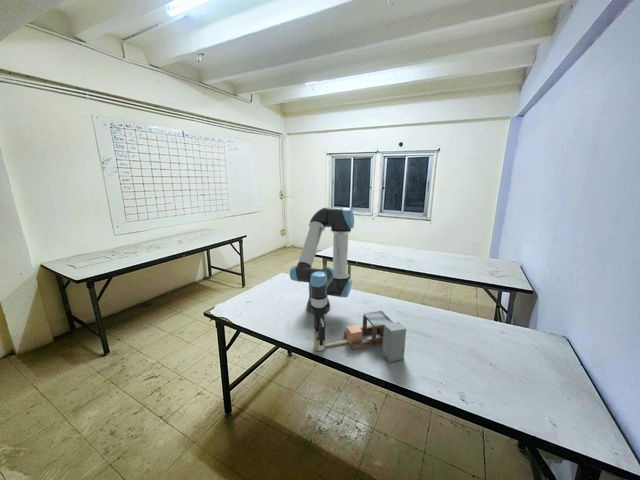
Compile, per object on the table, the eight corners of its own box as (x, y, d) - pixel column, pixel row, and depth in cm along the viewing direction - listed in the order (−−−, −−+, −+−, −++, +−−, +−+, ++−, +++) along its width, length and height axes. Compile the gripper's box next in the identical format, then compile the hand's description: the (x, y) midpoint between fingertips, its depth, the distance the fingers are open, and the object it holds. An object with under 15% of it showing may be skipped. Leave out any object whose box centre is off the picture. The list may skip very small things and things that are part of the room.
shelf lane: (343, 335, 134) (344, 316, 131) (380, 328, 140) (381, 310, 137) (352, 350, 123) (353, 330, 120) (392, 342, 128) (393, 322, 125)
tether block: (313, 344, 127) (313, 330, 125) (357, 336, 133) (357, 322, 131) (316, 352, 121) (316, 338, 119) (361, 343, 127) (362, 329, 125)
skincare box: (388, 362, 114) (390, 332, 110) (380, 352, 121) (382, 323, 117) (405, 359, 116) (407, 329, 112) (396, 349, 123) (398, 320, 119)
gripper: (307, 297, 125) (308, 338, 131) (315, 314, 110) (316, 360, 116) (321, 295, 127) (322, 335, 133) (332, 312, 112) (332, 356, 118)
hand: (319, 347), depth 124 cm, fingers closed on tether block, 3 cm apart
